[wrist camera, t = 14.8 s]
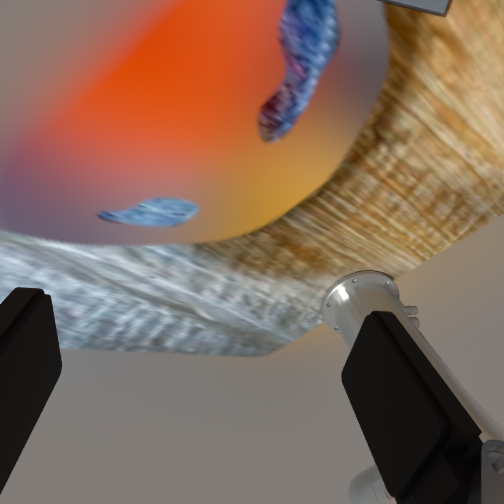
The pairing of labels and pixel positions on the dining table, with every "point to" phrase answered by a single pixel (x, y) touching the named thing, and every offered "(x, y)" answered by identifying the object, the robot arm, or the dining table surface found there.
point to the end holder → (422, 5)
